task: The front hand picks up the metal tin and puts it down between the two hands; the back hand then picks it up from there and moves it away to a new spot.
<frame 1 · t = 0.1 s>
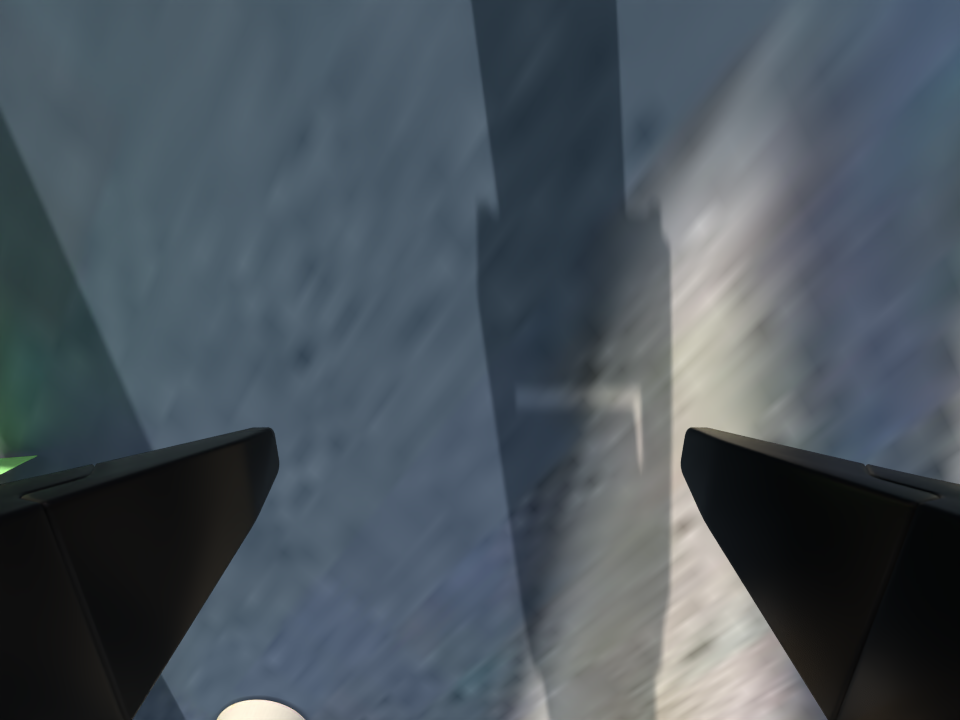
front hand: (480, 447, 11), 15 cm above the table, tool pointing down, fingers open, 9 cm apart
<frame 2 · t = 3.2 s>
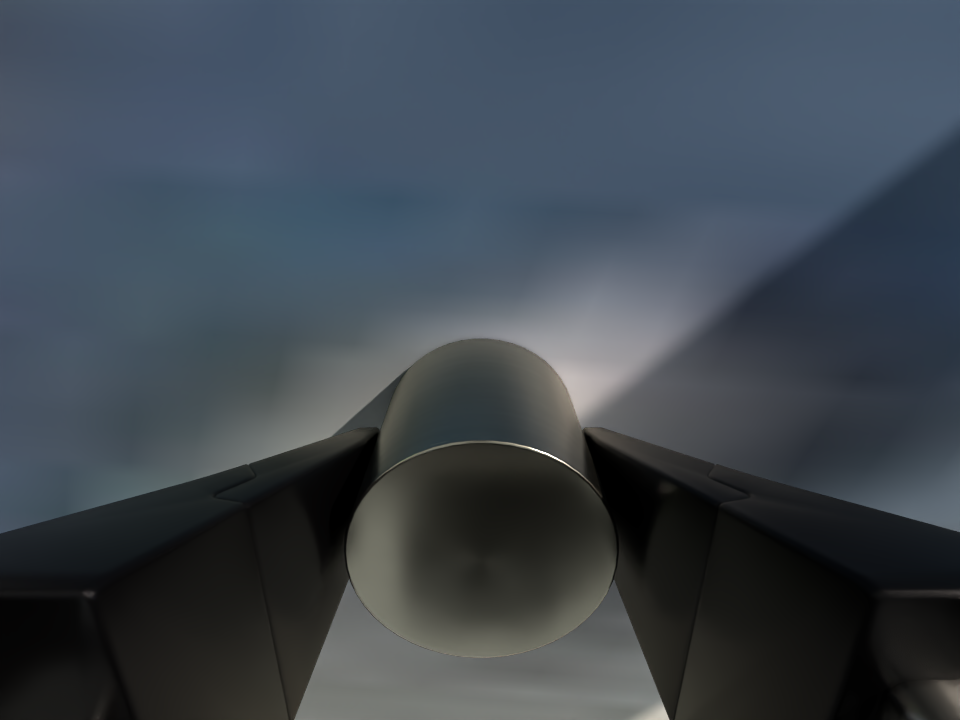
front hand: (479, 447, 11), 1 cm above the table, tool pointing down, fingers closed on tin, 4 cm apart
tin: (481, 424, 12), on the table, touching front hand
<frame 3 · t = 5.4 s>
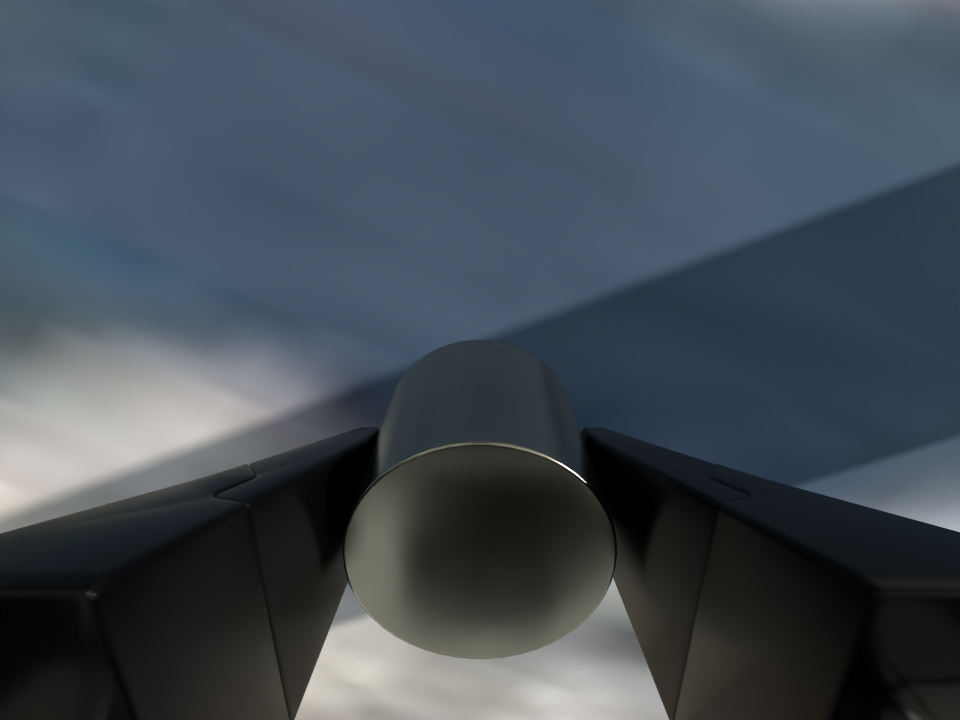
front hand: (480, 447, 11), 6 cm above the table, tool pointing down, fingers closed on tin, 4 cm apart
tin: (479, 425, 12), point 5 cm above the table, touching front hand
when the front hand's fingers open (2 cm above the table, at t = 7.6 s): tin stays where it is, on the table.
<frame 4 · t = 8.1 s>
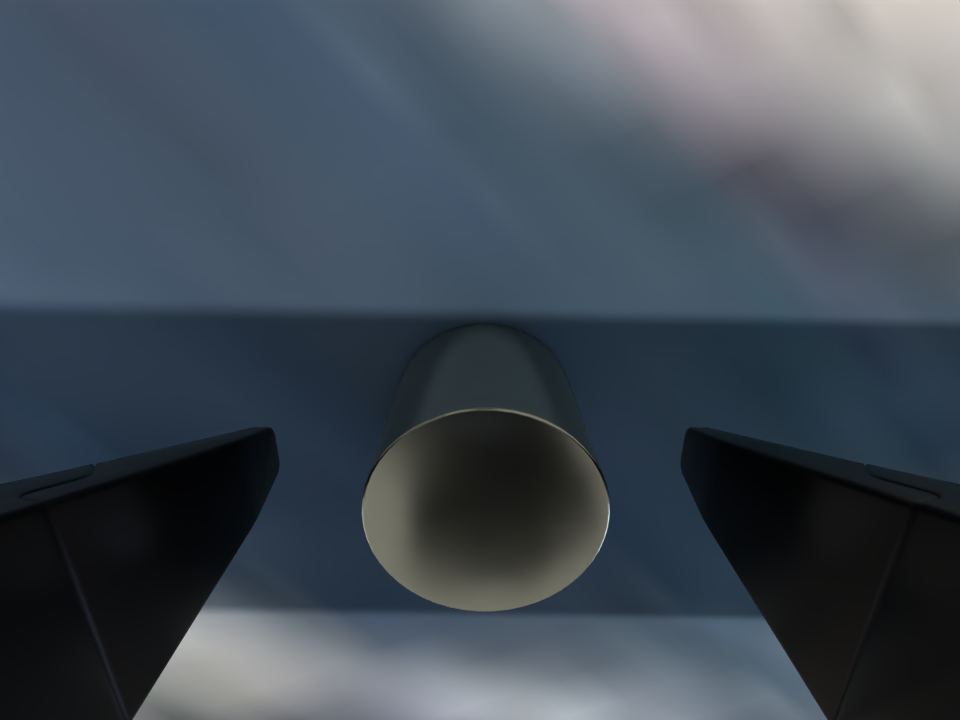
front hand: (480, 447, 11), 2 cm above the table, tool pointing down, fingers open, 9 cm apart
tin: (484, 405, 13), on the table
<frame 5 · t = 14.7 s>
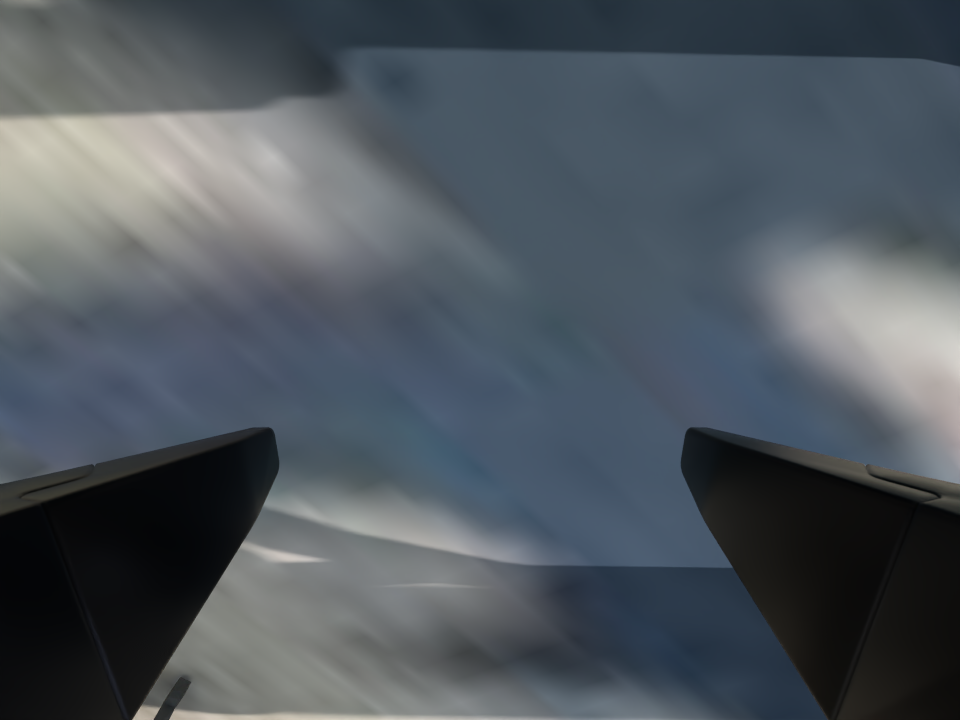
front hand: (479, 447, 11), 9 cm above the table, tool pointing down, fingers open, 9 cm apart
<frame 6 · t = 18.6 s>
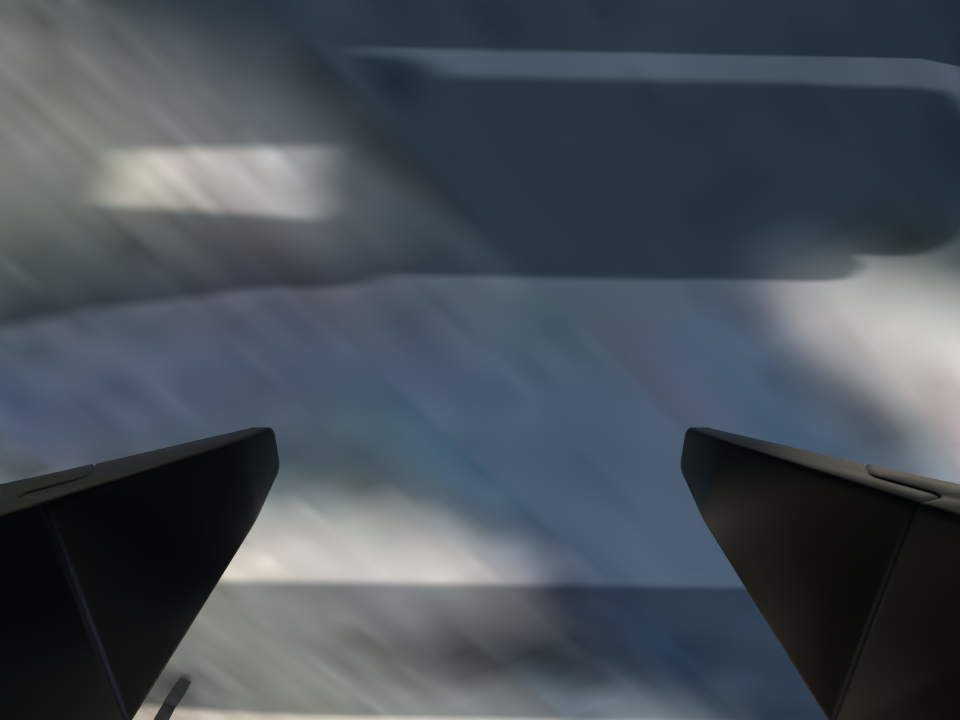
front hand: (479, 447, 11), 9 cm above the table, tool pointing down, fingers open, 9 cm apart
when the back hand's fingers open (1 cm above the table, at t = 22.9 s): tin stays where it is, on the table.
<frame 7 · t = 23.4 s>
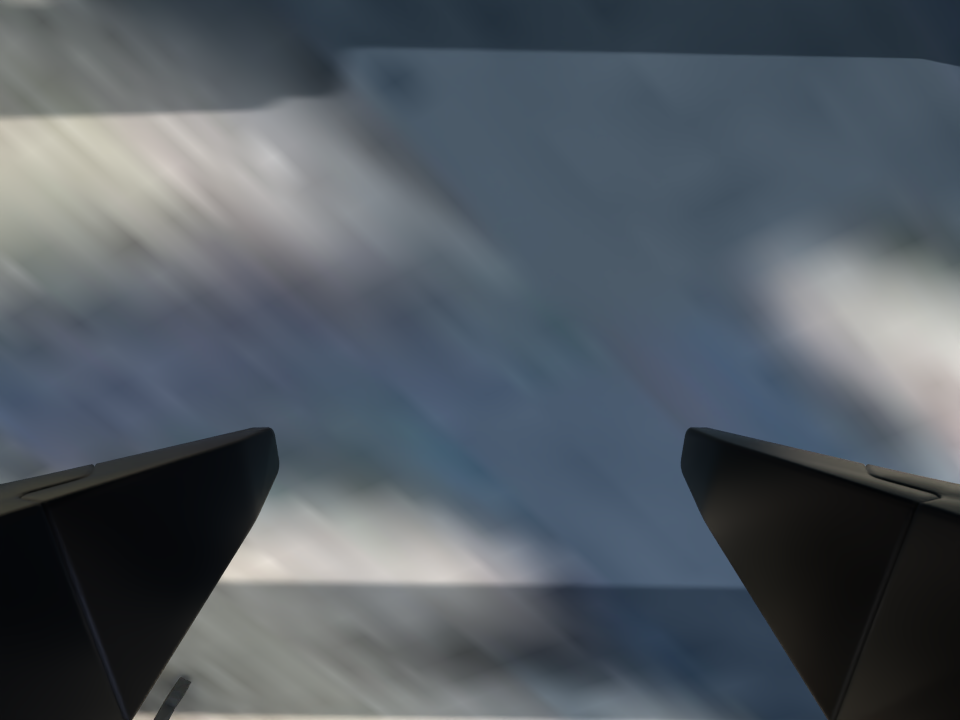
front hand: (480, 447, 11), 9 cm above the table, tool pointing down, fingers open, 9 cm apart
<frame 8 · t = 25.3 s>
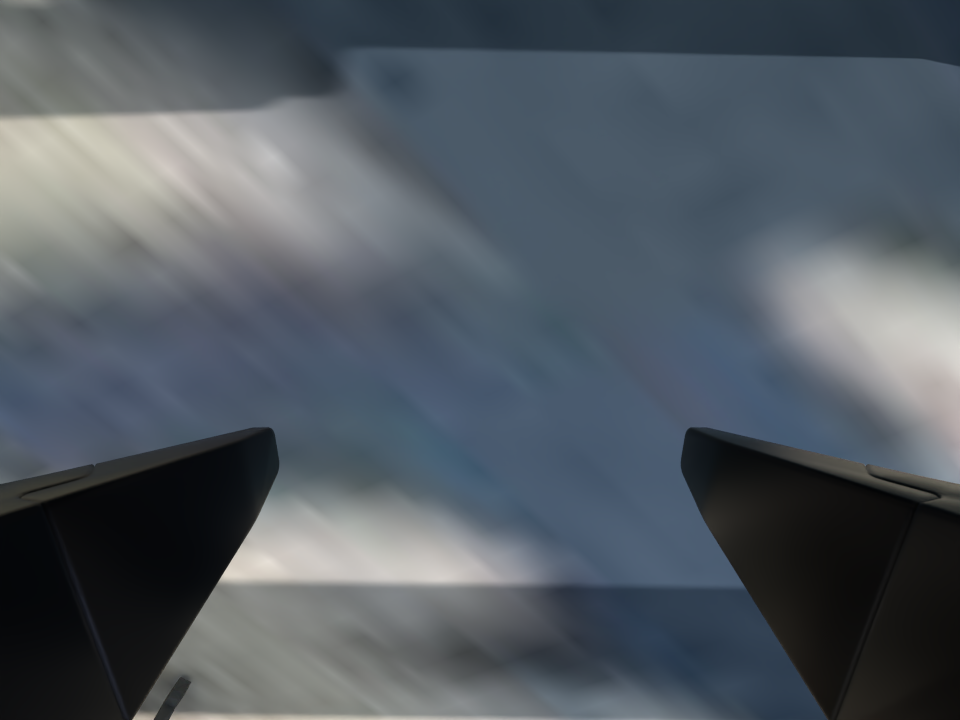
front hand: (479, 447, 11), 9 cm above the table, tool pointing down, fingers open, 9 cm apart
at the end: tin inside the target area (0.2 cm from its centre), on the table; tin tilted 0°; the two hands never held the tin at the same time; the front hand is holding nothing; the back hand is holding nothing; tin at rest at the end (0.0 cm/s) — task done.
